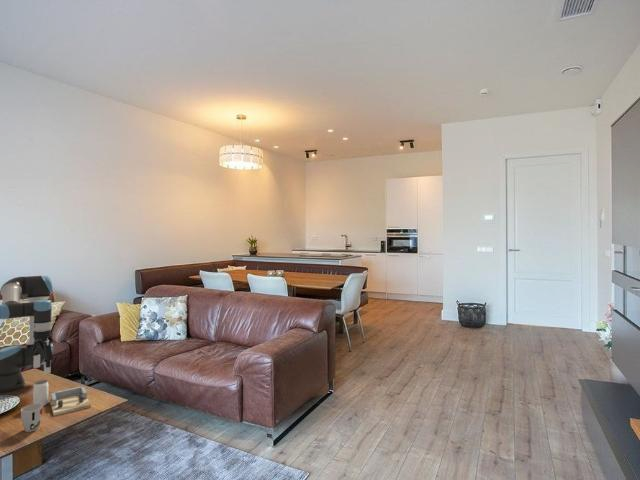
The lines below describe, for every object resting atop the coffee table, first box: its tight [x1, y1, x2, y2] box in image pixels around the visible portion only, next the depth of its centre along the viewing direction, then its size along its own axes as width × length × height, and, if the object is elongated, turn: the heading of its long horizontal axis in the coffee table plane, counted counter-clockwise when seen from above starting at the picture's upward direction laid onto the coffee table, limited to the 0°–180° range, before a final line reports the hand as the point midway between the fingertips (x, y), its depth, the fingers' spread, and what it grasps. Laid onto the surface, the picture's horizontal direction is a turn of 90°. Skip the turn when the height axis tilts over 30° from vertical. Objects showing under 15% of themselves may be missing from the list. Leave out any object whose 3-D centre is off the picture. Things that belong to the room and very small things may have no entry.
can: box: [32, 379, 49, 407], centre depth 199 cm, size 6×6×12 cm
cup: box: [20, 403, 44, 433], centre depth 174 cm, size 8×8×10 cm
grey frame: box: [50, 385, 88, 405], centre depth 203 cm, size 11×15×3 cm
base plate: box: [49, 393, 92, 417], centre depth 199 cm, size 20×16×4 cm
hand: (41, 370), depth 196 cm, fingers open, 13 cm apart
